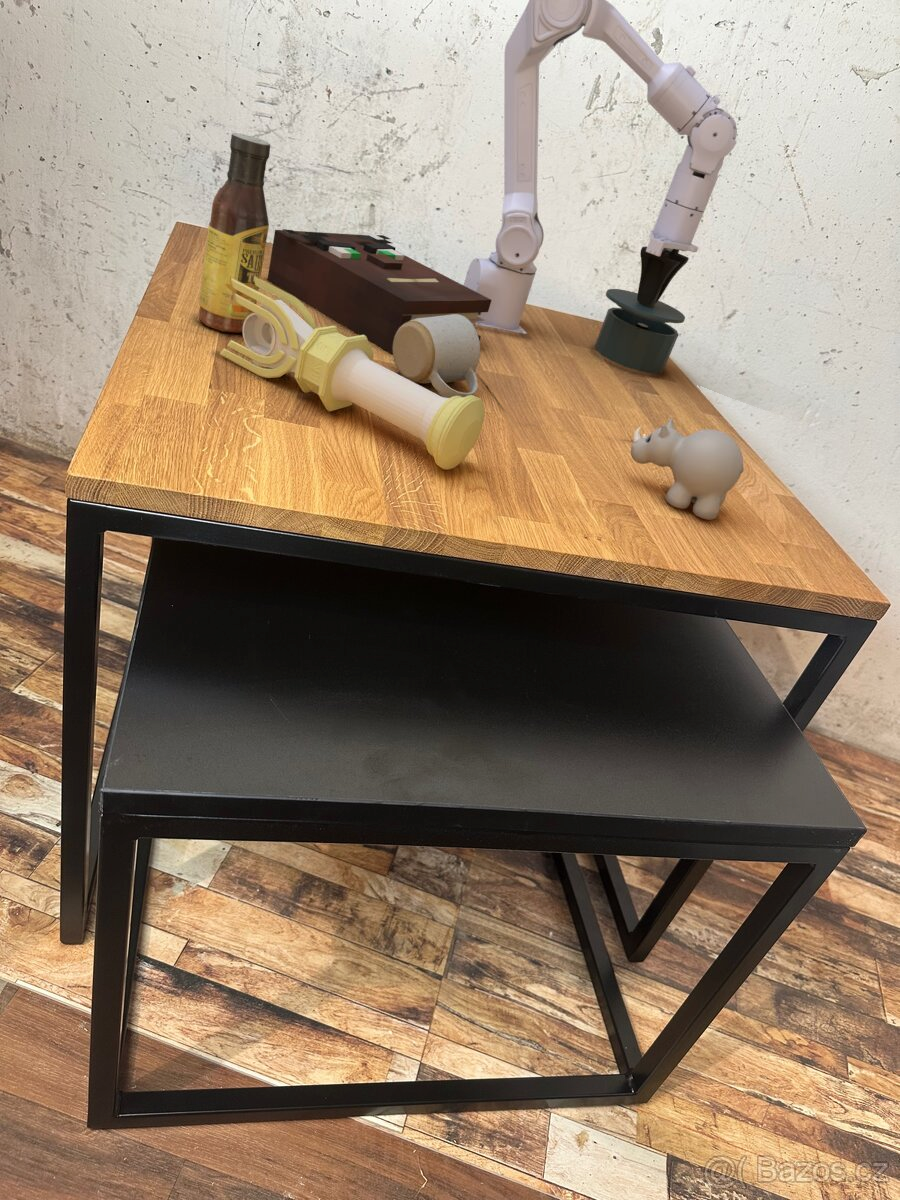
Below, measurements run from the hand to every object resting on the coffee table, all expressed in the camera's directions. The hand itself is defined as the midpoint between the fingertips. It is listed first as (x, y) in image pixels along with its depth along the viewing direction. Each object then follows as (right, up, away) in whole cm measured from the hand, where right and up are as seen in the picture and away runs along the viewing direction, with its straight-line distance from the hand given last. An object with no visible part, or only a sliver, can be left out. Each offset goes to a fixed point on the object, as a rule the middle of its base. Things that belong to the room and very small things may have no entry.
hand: (646, 301), depth 128 cm
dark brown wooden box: (-40, -5, -8) cm, 41 cm away
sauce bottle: (-55, -12, -27) cm, 63 cm away
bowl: (-1, -7, +8) cm, 11 cm away
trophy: (-40, -25, -39) cm, 61 cm away
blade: (-1, -6, +8) cm, 10 cm away
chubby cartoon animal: (-5, -33, -33) cm, 47 cm away
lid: (0, -1, 0) cm, 1 cm away
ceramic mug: (-31, -19, -24) cm, 43 cm away
